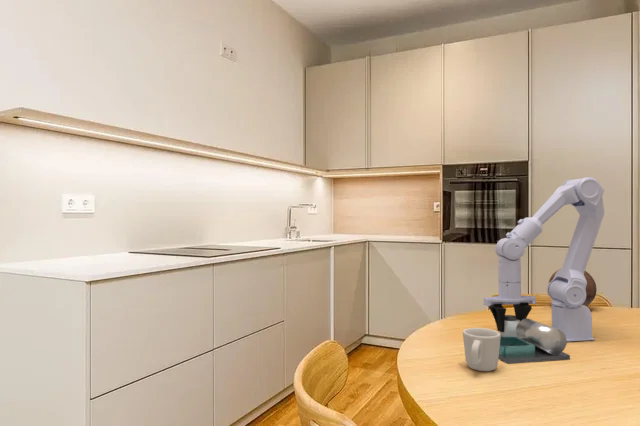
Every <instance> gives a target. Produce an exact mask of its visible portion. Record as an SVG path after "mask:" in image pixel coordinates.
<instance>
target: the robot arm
mask: <svg viewBox="0 0 640 426" xmlns="http://www.w3.org/2000/svg"><path fill="white" fill-rule="evenodd" d="M604 192H605V189H604V188H603V186H602V184H601V183H600V181H598V180H597V179H596V178H594V177H591V176H586V177H583V178H577V179H575V178H572V179H568V180H565V181H564V182H563V183H562V184H561V185H560V186H558V187H557V188H556V190H555V191H554V192H553V193H552V194H551V196H550V197H549V198H548V199H547V200H546V201H545V202H544V203H543V205H541V207H540V208H539V209H538V210H537V211H536V212H534V215H532V217H524V218H520V219H519V220H517V225H516V226H515V227H514V228H513V229H512V230H511V231H510V232H509V231H508V232H507V233H506V234H505V236H506V237H504V238H501V239H499V240H498V241H497V243H496V246H495V247H494V252H495V254H496V255H497V257H498V267H497V269H498V273H497V275H498V279H497V280H498V295H497V296H490V297H483V305H484V306H486V307H488V309H489V310H490V312H491V314H492V316H493V318H494V321H495V322H494V323H495V325H496V329H497V330H496V331H497V332H499V333H500V332H504V319H505V315H506V312H507V308H505V307H504V305H507V306H508V305H509V306H510V305H512V306H513V310H514V316H516V319H519V320H520V321H521V320H523V319H528V316H529V313H531V310H532V309H533V308H532V307H533V306H532V305H536V304H537V303H536V302H537V300H536V299H537V298H536V296H534V295H533V296H532V295H522V274H521V273H522V267H521V260H522V259H521V258H522V257H523V256H524V255H525V252H526V248H527V247H528V246H529V245H530V244H531V243H532V242H533V241H534V240H536V239H537V237H538V236H539V235H540V234H542V232H543V225H544V224H545V223H546V222H547V221H549V220H550V218H552V217H553V216H554V215H555V214H556V213H557V212H559V211H560V210H561V209H562V208H563V207H565V206H568V205H571V206H573V207H574V208H575V210H576V212H577V213H578V214H579V217H578V220H577V222H576V226H575V229H574V232H573V235H572V238H571V240H570V244H569V245H568V246H569V247H568V249H567V252H566V255H565V257H564V261H563V263H562V267H561V268H559V269H560V270H559V269H558V270H559V271H558V272H557V273H556V274H555V277H554V279H553V280H552V281H551V282H550V283H549V282H548V284H547V288H546V291H547V292H546V293H547V295H548V297H550V299H551V302H550V303H551V327H553V328H556V329H558V330H561V331H562V332H563V333H564V334H565V336H566V339H567V343H568V342H581V341H582V342H583V341H585V342H586V341H594V340H595V338H594V336H593V315H592V312H591V309H590V308H589V307H588V306H585V305H582V304H583V303H584V302H585V300H586V285H587V281H586V279H585V277H584V272H585V271H586V268H587V265H588V263H589V260H590V258H591V254H592V252H593V248H594V245H595V242H596V240H597V236H598V234H599V230H600V227H601V224H602V221H603V219H604V217H605V207H604V206H605V205H604V200H603V194H604ZM530 304H532V305H530Z"/></svg>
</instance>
